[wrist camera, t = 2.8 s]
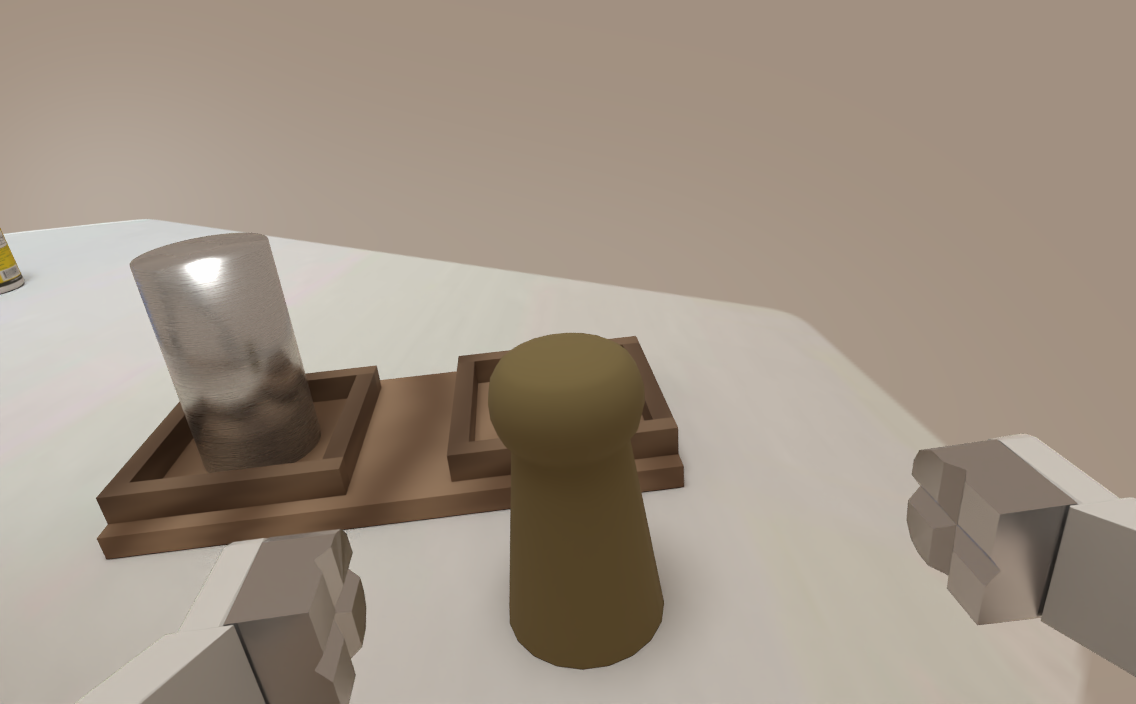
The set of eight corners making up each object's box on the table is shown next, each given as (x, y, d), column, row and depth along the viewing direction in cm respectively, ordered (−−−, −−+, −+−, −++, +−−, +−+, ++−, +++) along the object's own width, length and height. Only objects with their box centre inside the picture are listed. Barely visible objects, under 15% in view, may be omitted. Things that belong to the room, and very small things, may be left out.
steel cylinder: (184, 486, 34) (103, 277, 30) (227, 424, 40) (164, 240, 35) (305, 471, 35) (244, 262, 30) (331, 411, 40) (283, 227, 35)
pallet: (106, 559, 32) (84, 511, 30) (212, 416, 43) (199, 379, 42) (683, 486, 33) (683, 438, 32) (634, 367, 45) (632, 329, 44)
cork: (574, 531, 31) (551, 302, 26) (693, 589, 27) (691, 334, 22) (476, 618, 27) (428, 364, 22) (600, 699, 23) (575, 415, 18)
